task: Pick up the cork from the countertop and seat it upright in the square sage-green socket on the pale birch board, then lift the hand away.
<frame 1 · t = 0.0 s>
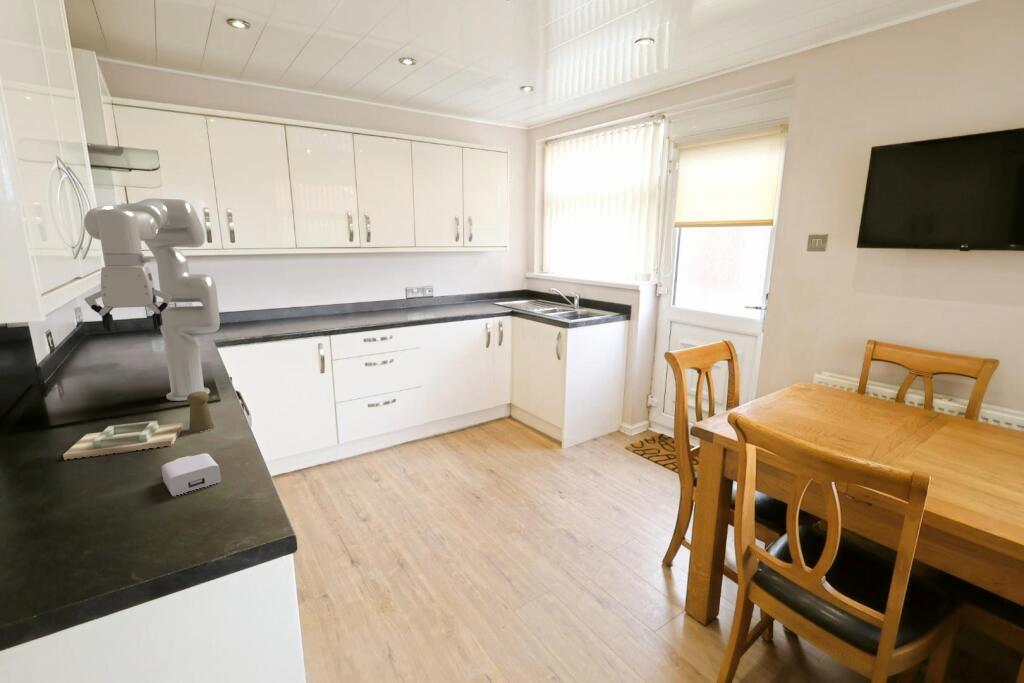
hand: (134, 329, 118), 31 cm above the worktop, tool pointing down, fingers open, 9 cm apart
charger: (189, 479, 107), on the worktop
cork: (201, 429, 135), on the worktop
socket board: (129, 442, 125), on the worktop
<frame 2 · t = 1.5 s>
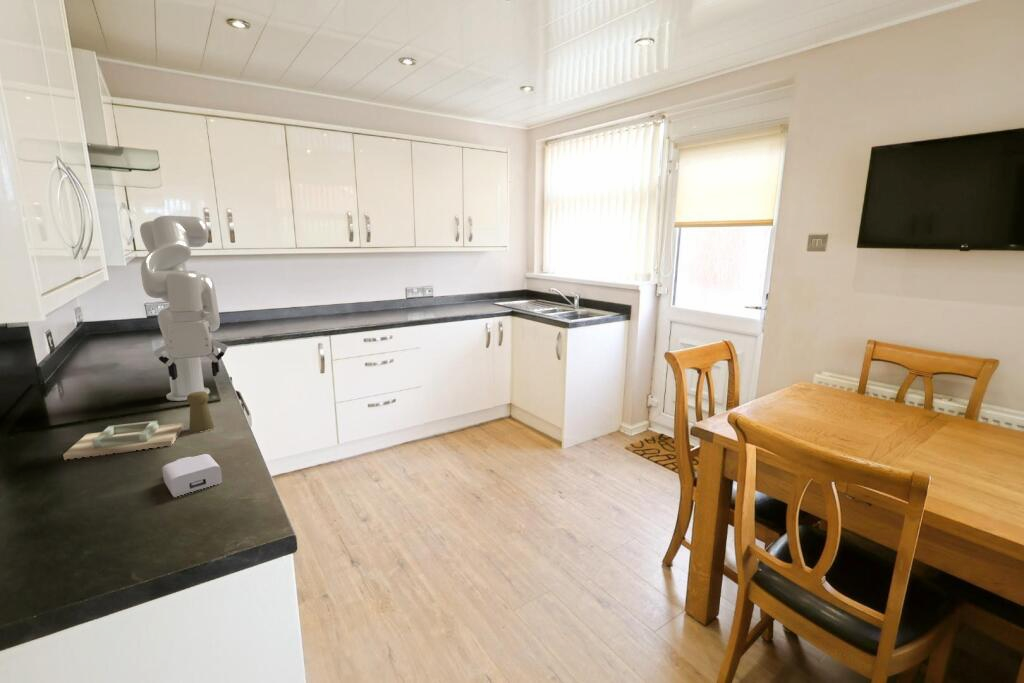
hand: (195, 376, 132), 16 cm above the worktop, tool pointing down, fingers open, 9 cm apart
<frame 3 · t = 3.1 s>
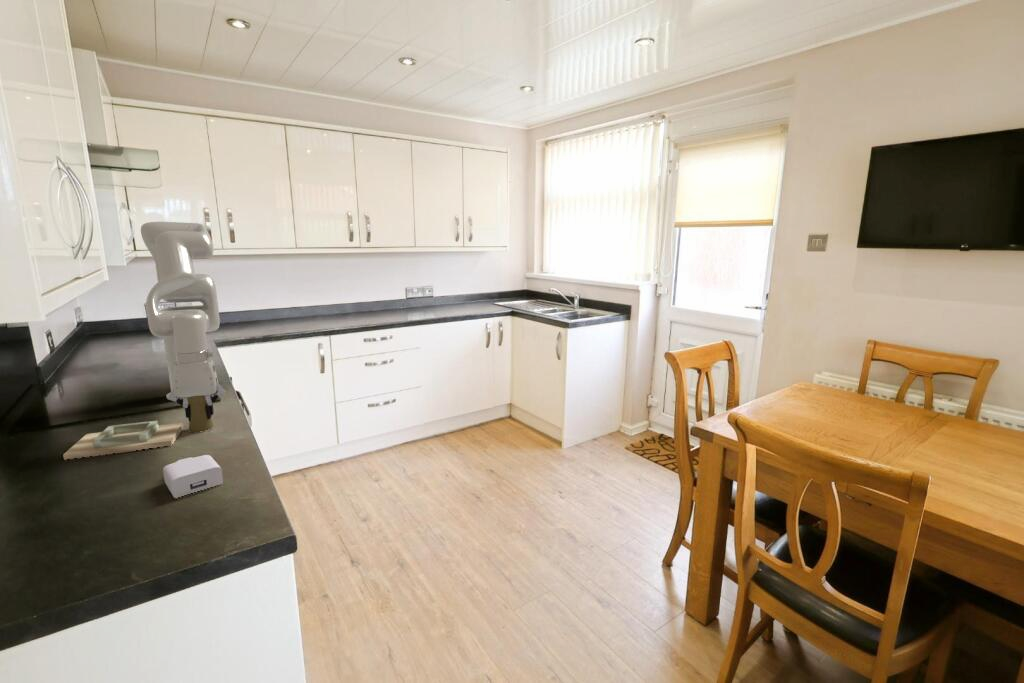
hand: (200, 417, 135), 3 cm above the worktop, tool pointing down, fingers closed on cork, 3 cm apart
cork: (201, 429, 135), on the worktop, touching gripper
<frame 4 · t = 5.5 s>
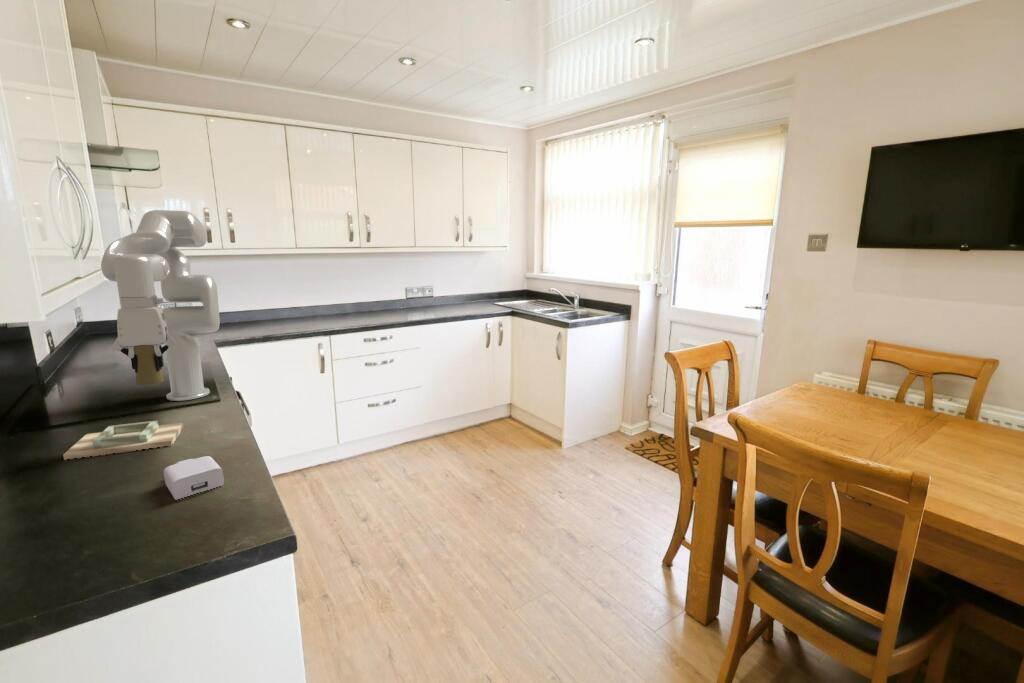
hand: (148, 369, 125), 19 cm above the worktop, tool pointing down, fingers closed on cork, 3 cm apart
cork: (150, 382, 126), point 16 cm above the worktop, touching gripper
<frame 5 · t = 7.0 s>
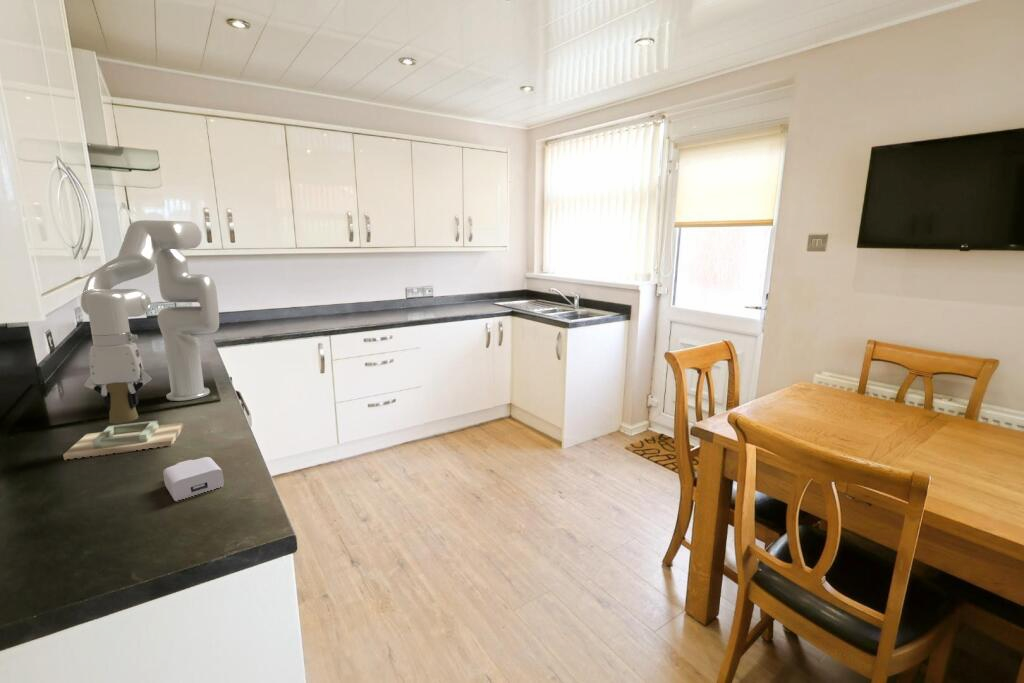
hand: (122, 407, 123), 10 cm above the worktop, tool pointing down, fingers closed on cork, 3 cm apart
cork: (124, 420, 124), point 7 cm above the worktop, touching gripper
when the fingers open (5 cm above the worktop, at t = 8.2 s): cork stays where it is, resting on socket board.
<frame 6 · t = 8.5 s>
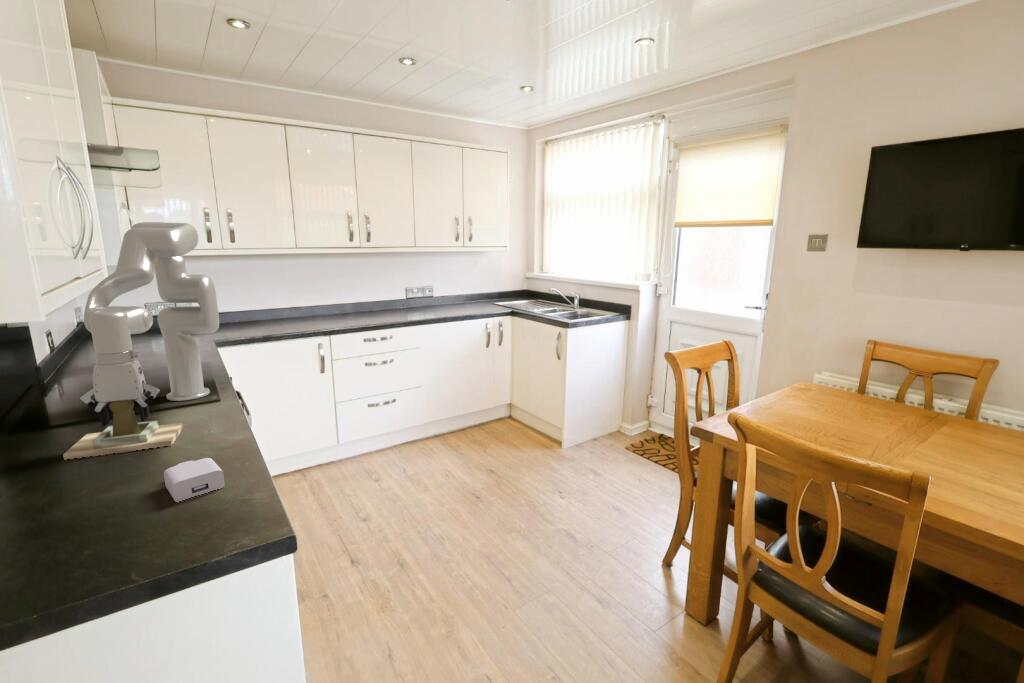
hand: (125, 421, 124), 6 cm above the worktop, tool pointing down, fingers open, 7 cm apart
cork: (127, 437, 125), point 1 cm above the worktop, touching socket board
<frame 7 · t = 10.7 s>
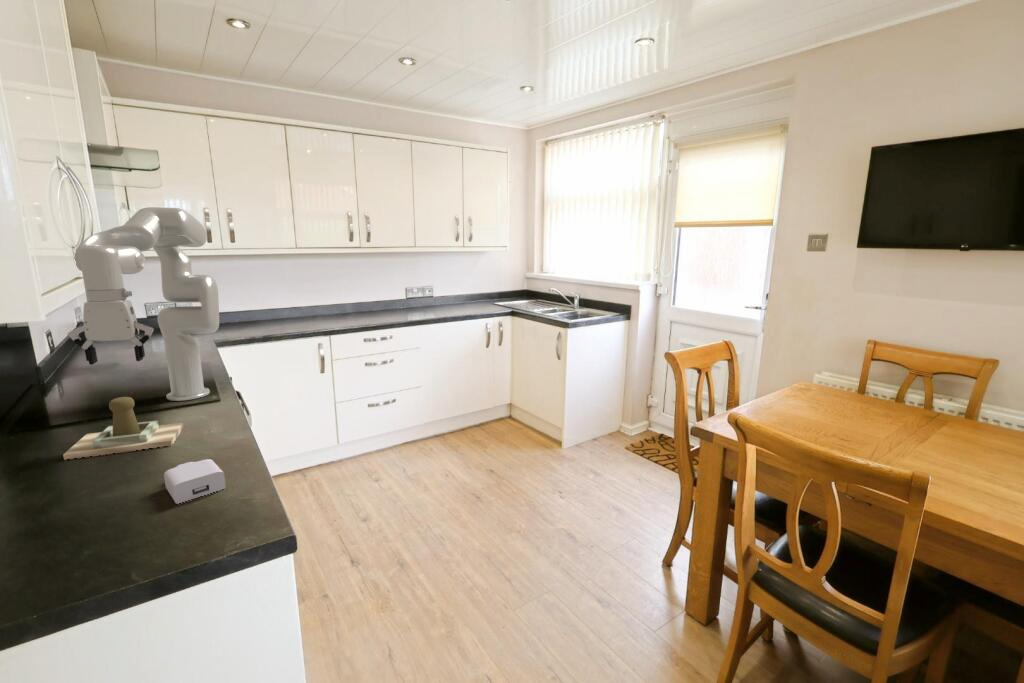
hand: (117, 361, 121), 22 cm above the worktop, tool pointing down, fingers open, 9 cm apart
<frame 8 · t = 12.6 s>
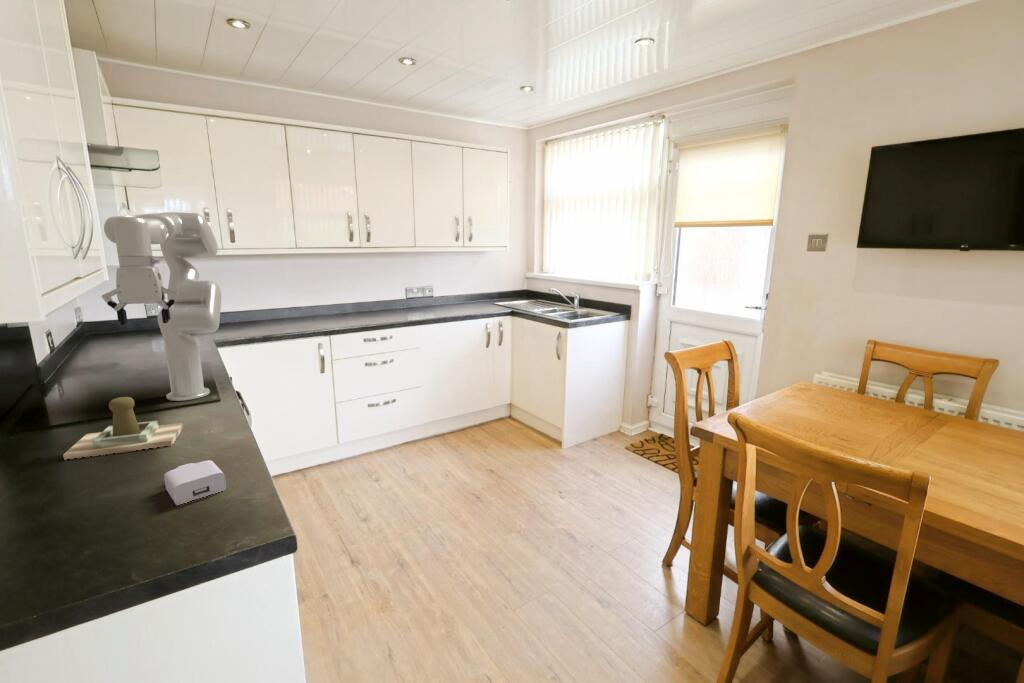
hand: (145, 323, 132), 30 cm above the worktop, tool pointing down, fingers open, 9 cm apart
at the end: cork 0.2 cm off-centre on the socket board, point 1.3 cm above the socket board's base; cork tilted 0°; the gripper is holding nothing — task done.
